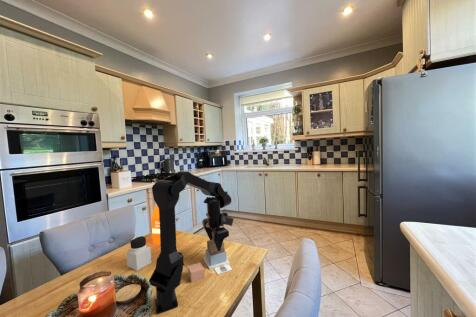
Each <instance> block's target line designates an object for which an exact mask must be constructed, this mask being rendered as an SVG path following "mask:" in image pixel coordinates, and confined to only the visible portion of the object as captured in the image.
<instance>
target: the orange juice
mask: <svg viewBox="0 0 476 317" xmlns="http://www.w3.org/2000/svg"><path fill="white" fill-rule="evenodd" d="M150 219H151V231H152V232H151V234H152V244H153V245H158V246H161V245H160V222H159V208H158V206H157V204H156V205H154V209H153V212H152V215H151V218H150Z"/></svg>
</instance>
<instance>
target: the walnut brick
mask: <svg viewBox="0 0 476 317" xmlns="http://www.w3.org/2000/svg"><path fill="white" fill-rule="evenodd" d="M206 246H207V248H206V249H207V250H208V251H209V253H210V255H211V256H212V255H216V254H220V253H224V252H225V251H226V249H225V242H224V241H223V243H222V247H221V251H218V250H217V248H216V245H215V243H214V241H213V239H212V240H210V239H208V240H206Z"/></svg>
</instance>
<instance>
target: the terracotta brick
mask: <svg viewBox="0 0 476 317" xmlns="http://www.w3.org/2000/svg"><path fill="white" fill-rule="evenodd" d="M187 275H188V278H189V280H190V282H191V283H196V282H199V281H201V280H204V279H205V268H204V266H203V264H202V263H201V262H197V263H194V264H191V265H188V266H187Z"/></svg>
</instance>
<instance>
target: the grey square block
mask: <svg viewBox="0 0 476 317" xmlns="http://www.w3.org/2000/svg"><path fill="white" fill-rule="evenodd" d="M205 255H206V256H205V257H203V261H204V262H205V264H206V266H207V268H208V269H209V270H214V268H217V267H220V266H222V265H223V266H224V265H227V264H229V265H230V264H231V262H230V260H229V259H228V257H227V251H226V250H225V252H224V253H220V254H216V255H212V256H211V255H210V253H209V251H208V250H207V248H206V249H205Z"/></svg>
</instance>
